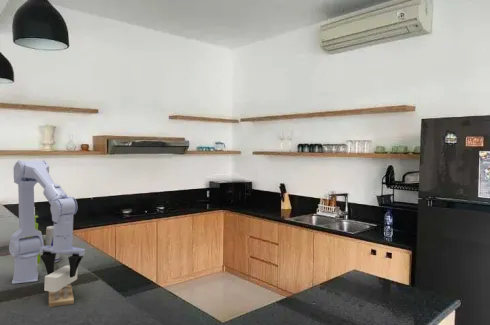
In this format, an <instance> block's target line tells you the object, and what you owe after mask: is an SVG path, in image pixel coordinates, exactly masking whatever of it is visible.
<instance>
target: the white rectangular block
mask: <svg viewBox="0 0 490 325" xmlns="http://www.w3.org/2000/svg"><path fill="white" fill-rule="evenodd" d="M78 269H79V267H78V268H77V271H76V274H75V276H74V277H72V278H71V277H70V264H67V265H64V266H63V267H60V268H58V269H57V270H54V272H53V273H51V274H49V275H48V274H46V275H45V276H44V291H45V292H49V291H52V292H57V291H59V290H60V289H62V288H63V287H65V286H67V285H71V284H72V283H73V282H75V281H77V280H78V272H79V271H78Z"/></svg>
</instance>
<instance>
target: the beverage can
mask: <svg viewBox="0 0 490 325" xmlns="http://www.w3.org/2000/svg"><path fill="white" fill-rule="evenodd" d="M53 231H54V225H49V226H46V229H45V246H53ZM60 260H61V254H56V257H55V262H54V264H55V263H58V262H59V261H60Z"/></svg>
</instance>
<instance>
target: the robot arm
mask: <svg viewBox="0 0 490 325" xmlns="http://www.w3.org/2000/svg"><path fill="white" fill-rule="evenodd" d="M13 181H14V182H13V183H15V184H16V185H17V187H18V188H17V190H18V192H17V193H18V229H17V230H16V231H15V232H13V233H12V234H11V235H10V240H9V245H8V250H9V254H10V255H11V256H12V257H14V267H13V270H14V272H13V277H12V281H11V284H13V285H16V284H21V283H22V284H23V283H31V282H37V281H38V282H39V279H38V278H39V272H38V264H37V256H38V255H39V254H40V260H41V261H42V263H43V265H44V267H45V269H46V275H49V274H51V273H53V272H55V263H56V262H55V257H56V254H60V255H71V256H68V257H67V259H68V260H67V261H68V265H70V277H71V278H72V277H74V276H75V274H76V271H77V268H78V269H79V265H80V263H81V261H82V260H83V257H84V256H85V255H86V249H85V248H81V247H76V246H73V236H74V234H73V233H74V232H73V231H74V215H76V213H77V211H78V209H79V208H78V202H77V200H76V198H75V197H71V196H68V194H67V193H66V192H65V190H64V189H63V188H62V186H61V185H60V184H58V183H55V182H54V180H53V178H52V177H51V175H50V165H49V163H48V162H47V160H17V161H16V162H15V164H14V166H13ZM37 183H38V184H40V186H41V187H42V188H43V192H42V194H43V196H44V197H45V199H46V200H47V202H48V203H49V204H50V208H49V209H50V214H51V220H52V222H53V226H54V231H53V246H46V245H44V244H45V242H44V240H43V233H42V231H41V230H39V229H38V230H37V229H35V186H36V184H37ZM40 231H41V232H40ZM29 236H33V237H29ZM25 237H27V238H25ZM54 262H55V263H54Z"/></svg>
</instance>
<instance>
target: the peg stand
mask: <svg viewBox="0 0 490 325" xmlns="http://www.w3.org/2000/svg"><path fill="white" fill-rule="evenodd" d="M74 304H75V299H74V293H73V287H72V284H68V285H67V286H65V287H63V288H62V289H60V290H59V291H57V292H52V291H48V308H53V307H59V306H66V305H68V306H69V305H74Z"/></svg>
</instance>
